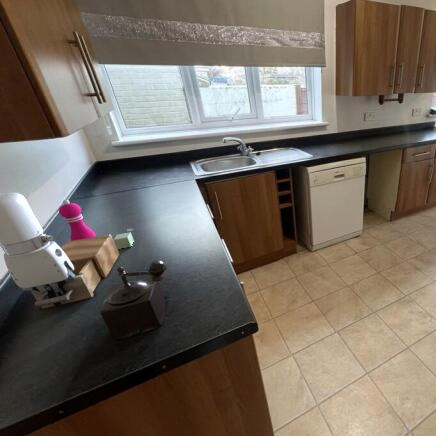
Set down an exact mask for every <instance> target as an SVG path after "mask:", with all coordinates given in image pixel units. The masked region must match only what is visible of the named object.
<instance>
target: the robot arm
mask: <svg viewBox="0 0 436 436" xmlns="http://www.w3.org/2000/svg"><path fill="white" fill-rule="evenodd" d="M54 239H55V236H54V235H53V234H47V233H46V231H45V230H44V229H43V228H42V226H41V224H40V222H39V220H38V219H37V216H36V215H35V213H34V211H33V210H32V208H31V206H30V204H29V202H28V200H27V198H26V197H25V196H24V195H23V194H21V193H19V192H15V191H13V192H1V193H0V248H1V250H2V251H3V253H4V254H3V259H4V263H5V266H6V268H7V271H8V273H9V275H10V276H11V278H12V280H13V281H14V283H15V284H16V286H17V287H18V288H20V289H21V290H22V291H25V292H26V291H27V292H28V291H30V290H35V291H39V292H41V293H42V294H43V295H47V296H48V298H49V299H50V298H54V297H59V296H63V295H66V291H65V290H64V288H63V286H64V285H65V283H68V282H71V281H73V280H74V279H75V278H76V275H75V274H74V273H72V271H73V270H74V266H73V264H72V263H71V261H70V260H69V258H68V257H67V255H66V254H65V253H64V251H63V250H62V249H61V246H60V245H59V244H58V243H57V242H56V241H54ZM65 301H66V300H65ZM65 301H61V302H56V303H53V304H54V306H53V307H58V306H62V305H64V304H63V303H64V302H65Z"/></svg>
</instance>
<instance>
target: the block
mask: <svg viewBox="0 0 436 436" xmlns="http://www.w3.org/2000/svg"><path fill="white" fill-rule="evenodd" d="M113 240H114V243H115V245H116V247H117V250H118V249H120V250H122V249H121V248H125V249H127V248H126V247H131V246H132V247H133V245H134V244H133V242H134V243H135V240H134V237H133V235H132V233H131V231H129V232H125V233H119V234H116V236H115V237H114V238H113ZM132 244H133V245H132ZM132 247H131V248H132Z"/></svg>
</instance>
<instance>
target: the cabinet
mask: <svg viewBox="0 0 436 436" xmlns="http://www.w3.org/2000/svg"><path fill="white" fill-rule="evenodd" d="M60 248H61V249H62V250H63V251H64V253H65V254H66V255H67V257H68V258H69V260H70V261H71V262H76V261H81V260H86V259H92V258H94V260H95V262H96V264H97V266H98V268H99V270H100V273H101V275H102V278H104V279H105V278H107V277H108V275H109V273H110V272H111V269H112V268H113V266H114V264H115V263H116V261H117V259H118V258H119V256H120V252H119V250H118V249H117V246H116V244H115V242H114V238H113V236H112V234H104V235H97V236H96V237H92V238H86V239H80V240H74V241H71V240H69V241H68V240H67V241H65V243H64V244H62V246H60Z"/></svg>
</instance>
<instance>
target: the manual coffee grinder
mask: <svg viewBox="0 0 436 436" xmlns="http://www.w3.org/2000/svg"><path fill="white" fill-rule="evenodd" d="M124 269H125V268H124V267H123V266H118V267H117V268H116V271H117V273H118V274H117V275H118V277H120V278H121V280H122V282H120V283H117V284H112V285H111V286H110V288H109V290H108V292H107V294H106V296H105V298H104V300H103V302H102V304H101V306H100V309H99V315H100V316H101V318H102V319H103V322H104V323H105V325H106V327H107V329H108V331H109V332H110V333H111V334H110V335H111V336H112V338H113V340H114V341H118V340H122V339H125V338H130V337H134V336H137V335H141V334H143V333H146V332H150V331H153V330H155V329H158V328H159V327H162V325H163V321H164V319H165V315H166V314H165V313H166V307H167V306H166V299H165V297H164V295H163V292H162V289H161V286H160V283H159V282H161V281H163V280H164V278H165V275H164V272H165V271H166V270H167V265H166V263H165V262H164V261H162V260H153V261H151V262H149V264H148V266H147V269H146V271H125V270H124ZM136 276H146V277H143V278H139V279H133V280H130V281H129V280H128V279H127V277H136Z"/></svg>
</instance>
